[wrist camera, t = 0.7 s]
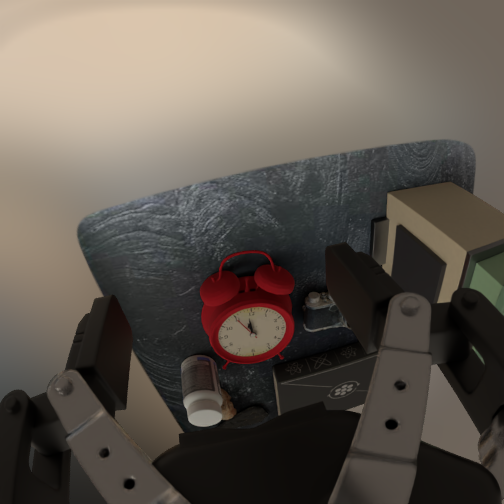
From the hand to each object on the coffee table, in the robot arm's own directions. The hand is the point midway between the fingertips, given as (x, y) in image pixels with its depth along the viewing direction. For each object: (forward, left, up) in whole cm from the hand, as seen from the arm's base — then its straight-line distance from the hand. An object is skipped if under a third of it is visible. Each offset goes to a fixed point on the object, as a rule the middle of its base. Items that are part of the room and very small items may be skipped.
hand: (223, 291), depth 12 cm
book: (+37, +14, -19) cm, 44 cm away
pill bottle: (+26, -6, -19) cm, 32 cm away
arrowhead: (+40, +2, -18) cm, 44 cm away
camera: (+20, +13, -19) cm, 30 cm away
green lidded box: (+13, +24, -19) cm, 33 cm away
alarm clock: (+16, +2, -19) cm, 25 cm away
